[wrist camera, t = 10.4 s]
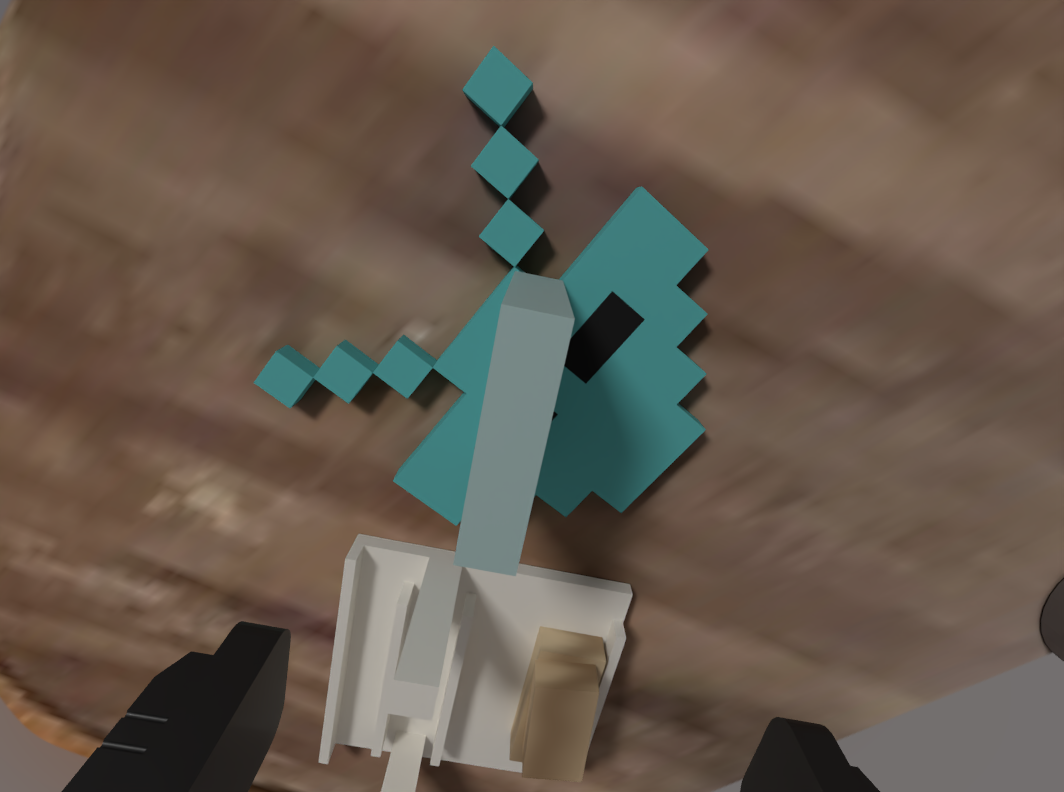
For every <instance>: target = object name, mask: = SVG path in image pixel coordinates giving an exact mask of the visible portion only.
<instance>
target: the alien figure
mask: <svg viewBox="0 0 1064 792" xmlns="http://www.w3.org/2000/svg"><path fill="white" fill-rule="evenodd" d="M462 90H463V92H464V94H465V95H466V96H467V97H468V98H469V99H470V100H471V101H472V102H473V103H474V104H475V105H476V106H477V107H479V108H480V109H481V110H482V111H483V112H484V113H485V114H486V115H487V116H488V117H490V118H491V119H492V120H493V121H494V122H495V123H496V124H497V125H498V126H499V127H500V128H499V129H498V130H497V132H496V133H495V134H494V136H493V137H492V138H491V140H490V141H489V142H488V144H487V145H486V146H485V148H484V149H483V150H482V152H481V153H480V154H479V156H478V157H477V158H476V160H475V161H474V162H473V164H472V165H471V167H472V168H474V169H475V170H476V171H477V172H478V173H479V174H480V175H482V176H483V177H484V178H485V179H486V180H487V181H488V182H489V183H491V184H492V185H493V186H494V187H495V188H496V189H497V190H499V191H500V192H501V193H502V194H503V195H504V196H505V197H506V198H508V200H507V201H506V202H505V204H504V205H503V206H502V207H501V209H500V210H499V211H498V213H497V214H496V215H495V216H494V218H493V219H492V220H491V222H490V223H489V224H488V225H487V227H486V228H485V229H484V231H483V232H482V233H481V234H480V236H479V237H480V238H481V239H482V240H483V241H485V242H486V243H487V244H488V245H489V246H490V247H492V248H493V249H494V250H495V251H496V252H498V253H499V254H500V255H501V256H502V257H503V258H505V259H506V260H507V261H508V262H509V263H510V264H512V265H513V268H512V269H511V270H510V271H509V273H508V274H507V275H506V276H505V277H504V279H503V280H502V281H501V282H500V284H499V285H498V286H497V287H496V289H495V290H494V291H493V292H492V294H491V295H490V296H489V297H488V298H487V300H486V301H485V302H484V303H483V305H482V306H481V307H480V308H479V310H478V311H477V312H476V313H475V314H474V316H473V317H472V318H471V319H470V321H469V322H468V323H467V324H466V326H465V327H464V328H463V329H462V330H461V332H460V333H459V334H458V335H457V337H456V338H455V339H454V340H453V342H452V343H451V344H450V345H449V346H448V348H447V349H446V350H445V351H444V353H443V354H442V355H441V356H440V358H439V359H438V360H436V359H435V358H433V357H432V356H431V355H429V354H428V353H427V352H425V351H424V350H423V349H422V348H420V347H419V346H418V345H416V344H415V343H414V342H413V341H411V340H410V339H409V338H407V337H406V336H405V335H403V336H402V337H401V338H400V339H399V340H398V341H397V342H396V343H395V345H394V346H393V347H392V349H391V350H390V351H389V352H388V354H387V355H386V356H385V358H384V359H383V360H382V361H381V363H380V364H377V363H376V362H375V361H373V360H372V359H371V358H369V357H368V356H367V355H365V354H364V353H363V352H361V351H360V350H359V349H357V348H356V347H355V346H353V345H352V344H351V343H349V342H348V341H347V340H344V341H343V342H341V343H340V344H339V345H337V346H336V348H335V349H334V350H333V352H332V353H331V354H330V356H329V357H328V358H327V360H326V361H325V362H324V364H323V365H322V366H321V368H319V367H318V366H316V365H315V364H314V363H312V362H311V361H309V360H308V359H307V358H305V357H304V356H303V355H301V354H300V353H299V352H297V351H296V350H294V349H293V348H292V347H290V346H289V345H286V346H284V347H283V348H281V349H279V350H277V351H276V352H275V353H274V355H273V356H272V358H271V359H270V360H269V362H268V363H267V365H266V366H265V368H264V369H263V370H262V372H261V373H260V375H259V376H258V377H257V379H256V380H255V382H254V383H255V384H256V385H258V386H259V387H260V388H262V389H263V390H265V391H266V392H267V393H269V394H270V395H272V396H273V397H275V398H276V399H277V400H279V401H280V402H282V403H283V404H284V405H286V406H287V407H289V408H291V407H292V406H294V405H295V404H296V403H297V402H298V401H300V400H301V398H302V397H303V396H304V394H305V393H306V392H307V390H308V389H309V388H310V386H311V385H312V384H313V382H314V381H315V380H317V381H318V382H319V383H321V384H322V385H324V386H325V387H326V388H328V389H329V390H331V391H332V392H333V393H335V394H336V395H337V396H339V397H340V398H342V399H343V400H344V401H346V402H347V403H348V404H349V403H350V402H351V400H352V399H353V398H354V397H355V396H356V395H357V394H358V393H359V391H360V390H361V389H362V387H363V386H364V385H365V384H366V382H367V381H368V380H369V378H370V377H371V376H372V375H373V373H374V374H375V375H376V376H378V377H379V378H380V379H382V380H383V381H384V382H386V383H387V384H388V385H390V386H391V387H392V388H394V389H395V390H396V391H398V392H399V393H400V394H402V395H403V396H404V397H406V398H407V399H408V397H409V396H410V395H411V394H412V393H413V391H414V390H415V389H416V388H417V386H418V385H419V384H420V383H421V381H422V380H423V379H424V378H425V377H426V375H427V374H428V373H429V372H430V370H431V369H432V368H434V369H435V370H436V371H438V372H439V373H440V374H441V375H443V376H444V377H445V378H447V379H448V380H449V381H451V382H452V383H453V384H454V385H456V386H457V387H458V388H460V389H461V390H462V391H464V393H463V394H462V395H461V396H460V397H459V399H458V400H457V401H456V402H455V403H454V404H453V406H452V407H451V408H450V409H449V410H448V412H447V413H446V414H445V415H444V416H443V418H442V419H441V420H440V421H439V422H438V423H437V425H436V426H435V427H434V428H433V429H432V431H431V432H430V433H429V434H428V435H427V436H426V438H425V439H424V440H423V441H422V442H421V444H420V445H419V446H418V447H417V448H416V450H415V451H414V452H413V453H412V454H411V455H410V457H409V458H408V459H407V460H406V461H405V463H404V464H403V465H402V466H401V467H400V468H399V470H398V472H397V474H396V476H395V478H394V480H393V481H394V482H395V483H396V484H398V485H399V486H401V487H402V488H404V489H405V490H406V491H408V492H409V493H411V494H412V495H413V496H415V497H416V498H418V499H419V500H421V501H422V502H423V503H425V504H426V505H428V506H429V507H431V508H432V509H433V510H435V511H436V512H438V513H439V514H440V515H442V516H443V517H445V518H446V519H448V520H449V521H450V522H452V523H453V524H455V525H456V526H457V524H458V523H459V522H460V521H461V520H462V514H463V509H464V503H465V498H466V493H467V487H468V482H469V476H470V471H471V465H472V460H473V455H474V449H475V444H476V438H477V433H478V428H479V422H480V417H481V411H482V406H483V400H484V395H485V390H486V384H487V379H488V373H489V368H490V363H491V357H492V352H493V346H494V341H495V336H496V330H497V325H498V319H499V314H500V308H501V304H502V301H503V299H504V296H505V294H506V291H507V289H508V287H509V284H510V282H511V279H512V277H513V275H514V272H515V271H518V272H523V273H525V272H524V271H523V270H522V269H520V268H519V267H518V266H517V263H518V262H519V261H520V260H521V258H522V257H523V256H524V255H525V254H526V252H527V251H528V250H529V249H530V247H531V246H532V245H533V244H534V242H535V241H536V240H537V239H538V238H539V236H540V235H541V234H542V233H543V231H544V230H543V229H542V228H541V227H540V226H539V225H538V224H537V223H536V222H534V221H533V220H532V219H531V218H530V217H529V216H528V215H526V214H525V213H524V212H523V211H522V210H521V209H520V208H519V207H517V206H516V205H515V204H514V203H513V202H512V201H511V200H509V199H510V198H511V196H512V195H513V194H514V193H515V191H516V190H517V189H518V187H519V186H520V185H521V184H522V182H523V181H524V180H525V178H526V177H527V176H528V175H529V173H530V172H531V171H532V170H533V168H534V167H535V166H536V164H537V163H538V161H539V160H538V159H537V158H536V157H535V156H534V155H533V154H532V153H531V152H530V151H529V150H528V149H526V148H525V147H524V146H523V145H522V144H521V143H520V142H519V141H518V140H517V139H515V138H514V137H513V136H512V135H511V134H510V133H509V132H508V131H507V130H506V129H505V128H504V127H505V126H506V124H507V123H508V122H509V120H510V119H511V118H512V116H513V115H514V114H515V112H516V111H517V110H518V108H519V107H520V106H521V104H522V103H523V102H524V100H525V99H526V98H527V96H528V95H529V94H530V92H531V91H532V90H533V83H532V82H531V81H530V80H529V79H528V78H527V77H526V76H525V75H524V74H523V73H522V72H521V71H520V70H519V69H518V68H517V67H516V66H515V65H513V64H512V63H511V62H510V61H509V60H508V59H507V58H506V57H505V56H504V55H503V54H502V53H501V52H500V51H499V50H498V49H497V48H496V47H494V46H493V47H492V49H491V50H490V51H489V53H488V54H487V56H486V57H485V58H484V60H483V61H482V63H481V64H480V65H479V67H478V68H477V70H476V71H475V73H474V74H473V75H472V77H471V78H470V80H469V81H468V82H467V84H466V85H465V87H464V88H463V89H462ZM707 251H708V249H707V248H706V247H705V246H704V245H703V244H702V243H701V242H700V241H699V240H698V239H697V238H696V237H695V236H694V235H693V234H691V233H690V232H689V231H688V230H687V229H686V228H685V227H684V226H683V225H682V224H681V223H680V222H679V221H678V220H677V219H676V218H675V217H674V216H673V215H671V214H670V213H669V212H668V211H667V210H666V209H665V208H664V207H663V206H662V205H661V204H660V203H659V202H658V201H657V200H656V199H655V198H654V197H652V196H651V195H650V194H649V193H648V192H647V191H646V190H645V189H644V188H643V187H637V188H636V189H635V190H634V191H633V192H632V194H631V195H630V196H629V197H628V198H627V200H626V201H625V202H624V203H623V204H622V206H621V207H620V208H619V209H618V210H617V211H616V213H615V214H614V215H613V216H612V217H611V219H610V220H609V221H608V222H607V223H606V224H605V226H604V227H603V228H602V229H601V230H600V232H599V233H598V234H597V235H596V236H595V237H594V239H593V240H592V241H591V242H590V243H589V245H588V246H587V247H586V248H585V249H584V251H583V252H582V253H581V254H580V255H579V256H578V258H577V259H576V260H575V261H574V262H573V264H572V265H571V266H570V267H569V268H568V269H567V271H566V272H565V273H564V274H563V275H562V277H561V278H560V279H559V280H562V281H563V282H564V286H565V289H566V292H567V295H568V299H569V302H570V305H571V308H572V311H573V315H574V318H575V321H574V325H573V329H572V334H571V338H570V342H569V347H568V351H567V355H566V360H565V364H564V369H563V373H562V377H561V382H560V386H559V390H558V395H557V399H556V403H555V408H554V412H553V416H552V421H551V425H550V430H549V434H548V438H547V443H546V447H545V451H544V456H543V460H542V464H541V469H540V473H539V478H538V482H537V486H536V491H535V495H534V497H535V496H536V495H537V496H538V497H539V498H541V499H542V500H543V501H545V502H546V503H547V504H549V505H550V506H551V507H553V508H554V509H555V510H557V511H558V512H559V513H561V514H562V515H563V516H565V517H567V516H568V515H569V514H570V513H571V512H572V511H573V510H574V509H575V508H576V507H577V506H578V505H579V504H580V503H581V502H582V501H583V499H584V498H585V497H586V496H587V495H588V494H589V493H590V492H591V491H593V492H594V493H596V494H597V495H598V496H600V497H601V498H602V499H604V500H605V501H606V502H607V503H609V504H610V505H611V506H613V507H614V508H615V509H616V510H618V511H619V512H620V513H622V512H623V511H624V510H625V509H626V508H627V507H628V506H629V505H630V504H631V503H632V502H633V501H634V500H635V499H636V498H637V497H638V496H639V495H640V494H641V493H642V492H643V491H644V490H645V489H646V488H647V487H648V486H649V485H650V484H651V483H652V482H653V481H654V480H655V479H656V478H657V477H658V476H659V475H660V474H661V473H662V472H663V471H664V470H666V469H667V468H668V467H669V466H670V465H671V464H672V463H673V462H674V461H675V460H676V459H677V458H678V457H679V456H680V455H681V454H682V453H683V452H684V451H685V450H686V449H687V448H688V447H689V446H690V445H691V444H692V443H693V442H694V441H695V440H696V439H697V438H698V437H699V436H700V435H701V434H702V433H703V432H704V431H705V430H706V429H705V428H704V427H703V426H702V424H701V423H700V422H699V420H698V419H696V418H695V417H694V416H693V415H692V414H690V413H689V412H688V411H687V410H686V409H685V408H683V407H682V406H681V405H680V404H679V402H680V401H681V400H682V399H683V398H684V397H685V396H686V395H687V394H688V393H689V392H690V390H691V389H692V388H693V387H694V386H695V385H696V384H697V383H698V382H699V381H700V380H701V379H702V378H703V377H704V376H705V375H706V373H705V372H704V371H703V370H702V369H701V368H700V367H699V366H698V365H697V364H695V363H694V362H693V361H692V360H691V359H690V358H689V357H687V356H686V355H685V354H684V353H683V352H682V351H681V350H680V349H678V348H677V346H678V345H679V344H680V343H681V342H682V341H683V340H684V339H685V337H686V336H687V335H688V334H689V333H690V332H691V331H692V330H693V329H694V328H695V327H696V326H697V325H698V324H699V323H700V322H701V321H702V320H703V319H704V317H705V316H706V315H707V313H706V312H705V311H704V310H703V309H701V308H700V307H699V306H698V305H697V304H696V303H695V302H694V301H693V300H692V299H690V298H689V297H688V296H687V295H686V294H685V293H684V292H683V291H682V290H681V289H680V288H678V287H677V286H676V285H677V284H678V283H679V282H680V281H681V279H682V278H683V277H684V276H685V275H686V274H687V273H688V272H689V271H690V270H691V269H692V267H693V266H694V265H695V264H696V263H697V262H698V261H699V260H700V259H701V258H702V257H703V255H704V254H705V253H706V252H707Z"/></svg>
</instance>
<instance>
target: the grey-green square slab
mask: <svg viewBox="0 0 1064 792" xmlns="http://www.w3.org/2000/svg"><path fill="white" fill-rule="evenodd" d="M574 321H575V318H574V315H573V311H572V308H571V305H570V302H569V299H568V295H567V292H566V289H565V286H564V282H563V281H562V280H557V279H552V278H547V277H542V276H538V275H533V274H528V273H523V272H518V271H515V272H514V275H513V277H512V279H511V282H510V284H509V287H508V289H507V291H506V294H505V296H504V299H503V301H502V304H501V308H500V314H499V319H498V325H497V330H496V336H495V341H494V346H493V352H492V357H491V363H490V368H489V373H488V379H487V384H486V390H485V395H484V400H483V406H482V411H481V417H480V422H479V428H478V433H477V438H476V444H475V449H474V455H473V460H472V465H471V471H470V476H469V482H468V487H467V493H466V498H465V503H464V509H463V514H462V520H461V525H460V530H459V536H458V541H457V547H456V552H455V558H454V563H453V565H456V566H461V567H467V568H472V569H478V570H483V571H489V572H495V573H500V574H506V575H511V576H516V573H517V569H518V565H519V560H520V556H521V552H522V547H523V543H524V539H525V534H526V530H527V525H528V521H529V517H530V512H531V508H532V504H533V499H534V495H535V491H536V486H537V482H538V478H539V473H540V469H541V464H542V460H543V456H544V451H545V447H546V443H547V438H548V434H549V430H550V425H551V421H552V416H553V412H554V408H555V403H556V399H557V395H558V390H559V386H560V382H561V377H562V373H563V369H564V364H565V360H566V355H567V351H568V347H569V342H570V338H571V334H572V329H573V325H574Z"/></svg>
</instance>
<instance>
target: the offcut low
mask: <svg viewBox="0 0 1064 792" xmlns="http://www.w3.org/2000/svg"><path fill="white" fill-rule="evenodd" d="M535 659H537V660H549V661H560V662H571V663H583V664H594V665H596V672H597V679H598V685H599V682H600V679H601V676H602V673H603V670H604V667H605V664H606V657H605V651H604V645H603V639H602V637H598V636H593V635H587V634H581V633H576V632H570V631H565V630H559V629H553V628H548V627H542V626H540V628H539V631H538V635H537V638H536V642H535V646H534V649H533V653H532V657H531V660H530V664H529V667H528V671H527V675H526V678H525V682H524V685H523V689H522V693H521V696H520V700H519V703H518V707H517V711H516V714H515V718H514V721H513V725H512V729H511V732H510V758H509V760H511V761H517V762H522V753H523V740H524V733H525V727H526V720H527V713H528V706H529V699H530V692H531V685H532V678H533V671H534V664H535Z"/></svg>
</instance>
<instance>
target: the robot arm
mask: <svg viewBox="0 0 1064 792" xmlns="http://www.w3.org/2000/svg"><path fill="white" fill-rule="evenodd" d="M1041 632H1042V635H1043V638H1044V641H1045V643H1046V644H1047V646H1048V647H1049V648H1050V650H1051V651H1052V652H1053V653H1054V654H1055V655H1057V656H1058V657H1059V658H1060V659H1061V660H1063V661H1064V579H1063V580H1062V581H1061V582H1060V583H1059V584H1058V586H1057V587H1056V588H1055V590H1054V591H1053V592H1052V594H1051V595H1050V597H1049V599H1048V601H1047V603H1046V605H1045V607H1044V610H1043V614H1042V618H1041ZM290 639H291V634H290V630H288V629H283V628H277V627H272V626H266V625H260V624H254V623H249V622H243V621H241V622H239V623H238V624H236V625H235V626H234V628H233V629H232V630H231V632H230V633H229V634H228V636H227V637H226V639H225V640H224V641H223V643H222V644H221V646H220V647H219V648H218V650H217V651H216V653H215V654H214V655H209V654H203V653H197V652H190V653H188V654H187V655H185V656H184V657H183V658H181V659H180V660H178V661H177V662H175V663H174V664H172V665H171V666H170V667H168V668H167V669H165V670H164V671H162V672H161V673H159V674H158V675H157V676H155V677H154V678H153V679H152V681H151V682H150V683H149V684H148V686H147V687H146V688H145V689H144V691H143V692H142V693H141V694H140V696H139V697H138V698H137V699H136V701H135V702H134V703H133V704H132V705H131V707H130V708H129V709H128V710H127V714H126V716H125V717H124V718H121V719H120V720H119V722H118V723H117V724H116V725H115V726H114V728H113V729H112V730H111V731H110V733H109V734H108V735H107V736H106V738H105V739H104V741H103V744H102V746H101V747H100V748H98V747H97V749H96V750H95V751H94V752H93V754H92V755H91V756H90V757H89V759H88V760H87V761H86V762H85V764H84V765H83V766H82V767H81V769H80V770H79V771H78V772H77V774H76V775H75V776H74V777H73V778H72V780H71V781H70V782H69V783H68V785H67V786H66V787H65V788H64V790H63V791H62V792H248V790H249V788H250V786H251V784H252V782H253V780H254V778H255V776H256V774H257V772H258V770H259V768H260V766H261V764H262V762H263V760H264V758H265V756H266V754H267V752H268V750H269V748H270V745H271V743H272V741H273V738H274V736H275V733H276V730H277V728H278V725H279V721H280V718H281V714H282V710H283V706H284V700H285V690H286V680H287V670H288V660H289V650H290ZM740 792H880V791H879V790H878V789H877V788H876V787H875V786H874V785H873V783H872V782H871V781H870V780H869V779H868V778H867V777H866V776H865V775H864V774H863V773H862V771H861V770H860V769H859V768H858V767H853V766H850V765H849V763H848V761H847V759H846V758H845V756H844V754H843V752H842V750H841V749H840V747H839V745H838V743H837V742H836V740H835V738H834V736H833V735H832V733H831V732H830V731H829V730H828V729H827V728H826V727H825V726H823V725H820V724H815V723H809V722H803V721H798V720H792V719H786V718H780V717H776V718H774V719H772V720H771V722H770V723H769V725H768V727H767V729H766V731H765V733H764V735H763V737H762V739H761V742H760V744H759V746H758V748H757V750H756V752H755V754H754V756H753V759H752V761H751V763H750V765H749V767H748V769H747V771H746V773H745V776H744V778H743V780H742V785H741V791H740Z"/></svg>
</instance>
